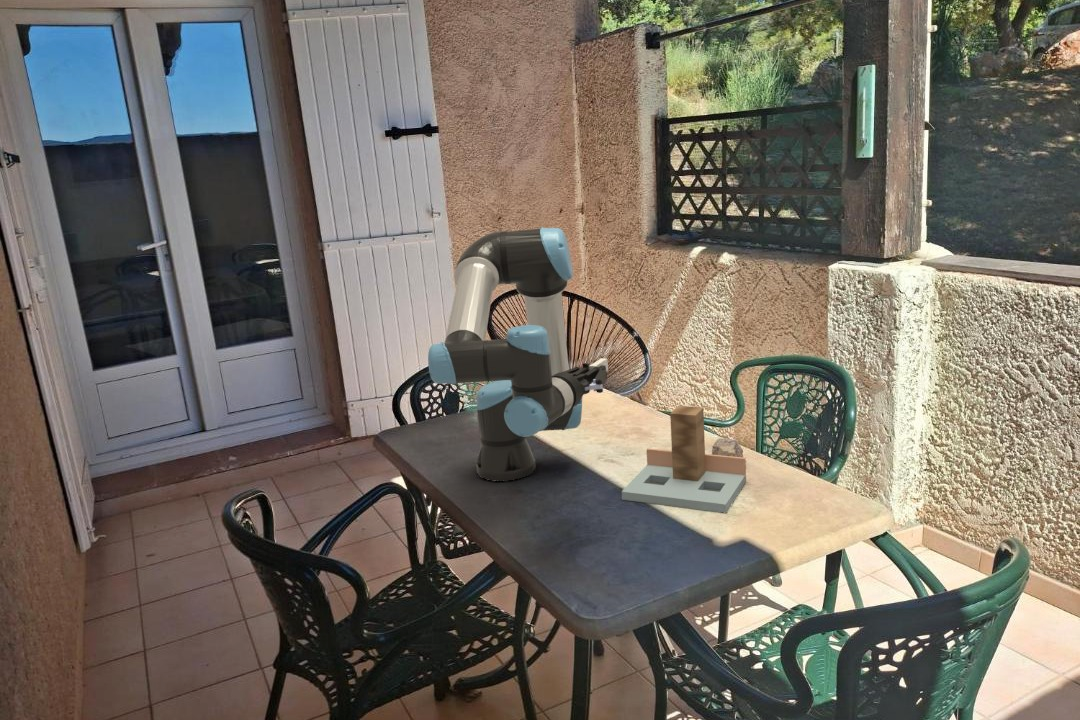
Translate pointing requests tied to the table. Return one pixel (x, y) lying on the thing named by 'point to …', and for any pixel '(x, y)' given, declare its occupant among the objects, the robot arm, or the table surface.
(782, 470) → the table surface
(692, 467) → the walnut block
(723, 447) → the mineral specimen
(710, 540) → the table surface
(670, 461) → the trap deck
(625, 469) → the table surface
